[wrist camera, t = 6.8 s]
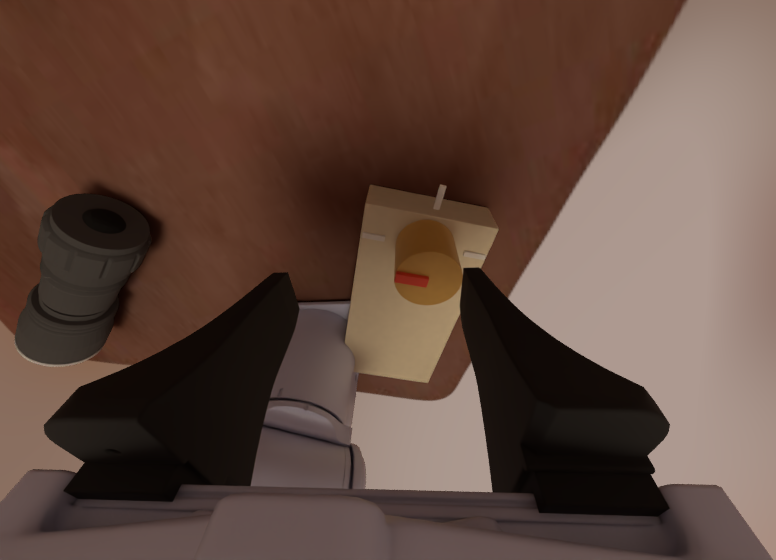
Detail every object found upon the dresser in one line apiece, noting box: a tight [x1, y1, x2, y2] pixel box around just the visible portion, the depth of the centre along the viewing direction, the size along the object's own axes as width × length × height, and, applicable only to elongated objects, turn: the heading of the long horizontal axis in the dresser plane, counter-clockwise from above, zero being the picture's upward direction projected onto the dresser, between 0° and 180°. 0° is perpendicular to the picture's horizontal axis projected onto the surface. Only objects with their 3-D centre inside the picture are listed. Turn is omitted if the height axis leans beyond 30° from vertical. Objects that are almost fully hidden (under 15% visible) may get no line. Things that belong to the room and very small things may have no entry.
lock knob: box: [394, 220, 463, 305], centre depth 17 cm, size 4×4×4 cm
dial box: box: [344, 184, 499, 383], centre depth 23 cm, size 18×8×3 cm, turn 169°
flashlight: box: [15, 194, 152, 367], centre depth 23 cm, size 15×5×5 cm, turn 138°
